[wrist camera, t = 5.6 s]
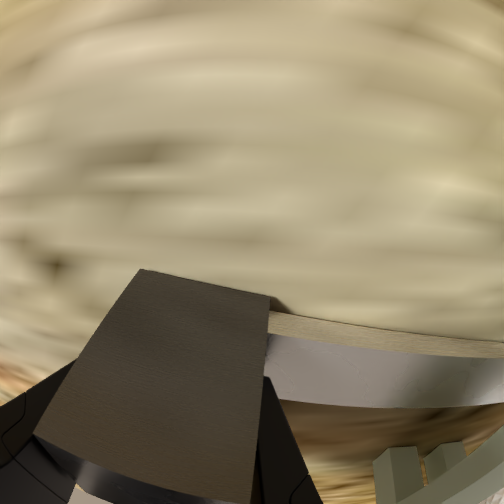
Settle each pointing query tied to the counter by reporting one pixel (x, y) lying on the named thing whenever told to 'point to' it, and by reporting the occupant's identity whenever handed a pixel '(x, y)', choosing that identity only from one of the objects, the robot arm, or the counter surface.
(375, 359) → the grey hammer
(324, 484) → the counter surface
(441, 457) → the bracket
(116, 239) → the counter surface
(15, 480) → the robot arm
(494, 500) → the white cup
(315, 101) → the counter surface
